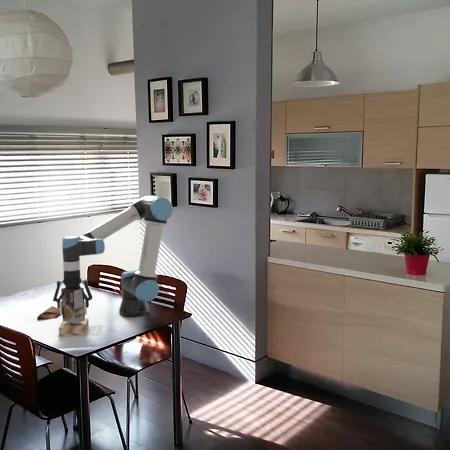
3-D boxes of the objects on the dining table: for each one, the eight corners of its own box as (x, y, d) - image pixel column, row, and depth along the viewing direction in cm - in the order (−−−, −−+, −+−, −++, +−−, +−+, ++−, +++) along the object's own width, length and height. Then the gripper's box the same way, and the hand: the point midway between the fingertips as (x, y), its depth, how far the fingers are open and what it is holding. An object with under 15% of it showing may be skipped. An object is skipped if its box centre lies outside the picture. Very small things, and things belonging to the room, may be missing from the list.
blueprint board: (103, 327, 250) (103, 324, 250) (100, 336, 236) (100, 334, 236) (61, 328, 247) (61, 326, 247) (56, 339, 233) (56, 336, 233)
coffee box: (85, 320, 240) (84, 287, 238) (75, 324, 235) (73, 291, 233) (72, 317, 245) (71, 285, 243) (62, 321, 240) (60, 288, 238)
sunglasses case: (53, 321, 257) (46, 310, 257) (42, 328, 258) (35, 317, 257) (66, 311, 275) (59, 300, 274) (55, 317, 276) (49, 307, 275)
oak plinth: (88, 326, 248) (88, 318, 247) (85, 334, 236) (85, 326, 235) (63, 327, 246) (63, 319, 245) (59, 336, 234) (58, 327, 234)
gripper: (97, 266, 242) (99, 311, 245) (47, 268, 239) (50, 313, 242) (95, 270, 235) (97, 316, 238) (44, 271, 231) (46, 318, 234)
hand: (73, 314), depth 240 cm, fingers closed on coffee box, 10 cm apart
